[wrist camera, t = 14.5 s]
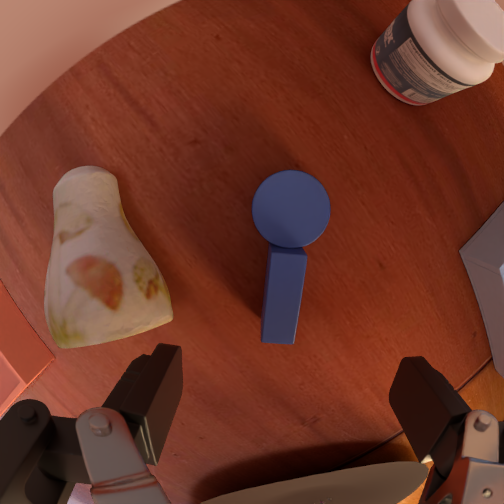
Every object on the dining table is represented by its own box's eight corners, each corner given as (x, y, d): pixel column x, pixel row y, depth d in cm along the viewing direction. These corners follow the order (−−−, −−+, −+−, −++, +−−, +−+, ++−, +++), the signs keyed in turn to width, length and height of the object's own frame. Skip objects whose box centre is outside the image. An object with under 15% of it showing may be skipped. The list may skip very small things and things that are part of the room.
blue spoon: (255, 167, 15) (255, 164, 13) (327, 175, 15) (339, 174, 13) (242, 319, 17) (239, 341, 15) (307, 324, 17) (313, 346, 15)
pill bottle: (395, 24, 13) (460, -42, 4) (449, 80, 13) (535, 44, 5) (352, 61, 14) (417, -18, 5) (412, 122, 14) (512, 91, 6)
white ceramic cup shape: (138, 137, 15) (119, 219, 8) (173, 261, 21) (194, 378, 14) (35, 174, 14) (-38, 275, 6) (87, 284, 20) (74, 398, 13)
